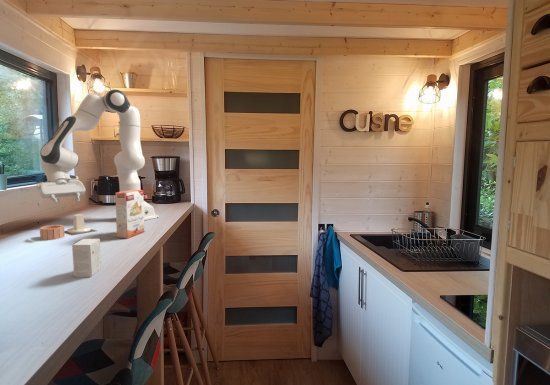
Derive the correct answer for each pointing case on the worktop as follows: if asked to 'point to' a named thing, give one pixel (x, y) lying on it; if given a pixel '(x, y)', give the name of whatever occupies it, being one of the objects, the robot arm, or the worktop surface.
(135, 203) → the cracker box
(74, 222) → the lid
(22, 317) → the worktop surface
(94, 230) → the rubber mat
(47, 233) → the bowl
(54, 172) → the robot arm
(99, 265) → the small box
